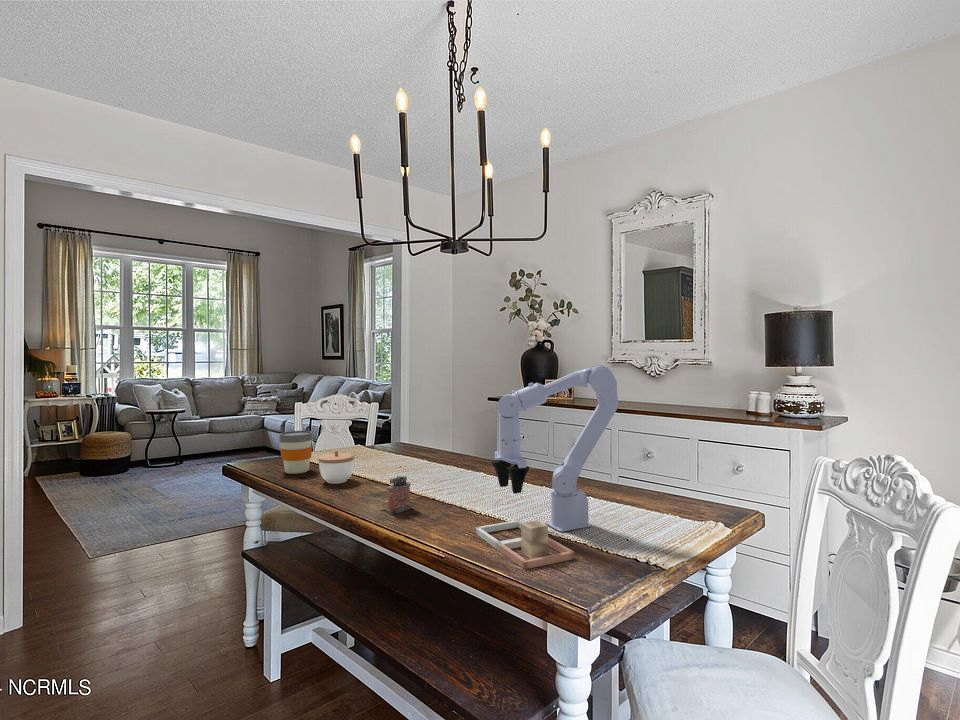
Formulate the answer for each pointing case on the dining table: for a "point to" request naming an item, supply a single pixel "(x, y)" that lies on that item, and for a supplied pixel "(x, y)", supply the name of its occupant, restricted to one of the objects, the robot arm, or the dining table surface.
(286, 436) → the reusable coffee cup
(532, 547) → the maple block
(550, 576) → the dining table surface
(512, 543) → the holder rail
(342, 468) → the lidded bowl
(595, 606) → the dining table surface
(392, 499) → the lighter
